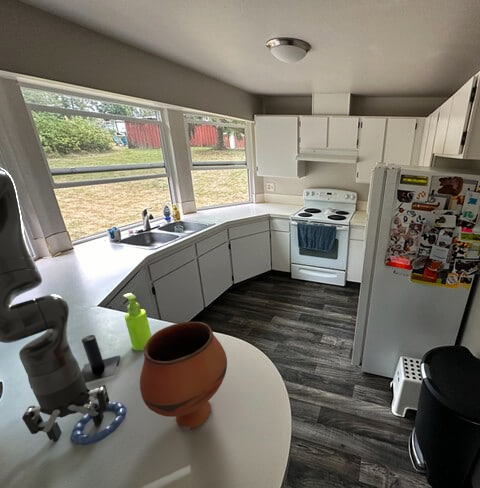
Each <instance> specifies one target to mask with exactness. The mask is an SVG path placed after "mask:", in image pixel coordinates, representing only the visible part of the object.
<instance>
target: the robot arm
mask: <svg viewBox="0 0 480 488" xmlns="http://www.w3.org/2000/svg"><path fill="white" fill-rule="evenodd" d="M42 282H43V278H42V275H41V273H40V271H39V269H38V266H37V265H36V262H35V259H34V258H33V256H32V253H31V250H30V248H29V246H28V242H27V239H26V236H25V232H24V225H23V219H22V214H21V209H20V204H19V198H18V193H17V189H16V185H15V183H14V180H13V178H12V176H11V174H9V172H8V171H7V170H5V169H4V168H2V167H0V343H3V344H4V343H5V344H12V343H16V342H19V341H21V340H24V339H26V338H29V337H32V336H35V335H37V334H41V333H43V332H44V333H43V334H41V335H40V336H38V337H36V338H33V339H32V340H31V341H29V342H27V343H26V344H25V345H24V346H23V347H21V348H20V350H19V353H18V356H19V360H20V362H21V364H22V366H23V369H24V371H25V373H26V375H27V380H28V383H29V387H30V390H31V391H32V392H33V394H34V396H35V399H36V401H37V403H38V406H36V405H30V406H28V407H27V409H26V410H25V412H24V413H23V415H22V417H21V419H22V420H23V422H24V424H25V426H26V427H27V429H28V431H29V432H30V434H31V435H36V434H38V433H39V432H43V433H46V436H47V438H48V440H50V441H52V442H56V441H59V440H60V437H61V435H62V430H61V427H60V424H59V423H58V421H56V420H57V419H58V418H60V419H62V418H64V417H67V416H70V415H74V414H77V413H79V414H81V415H85V414H89V415H92V418H91V419H92V421H93V424H94V427H99V426H101V424H102V423H103V420H104V416H105V415H104V412H106V411H105V410H106V409H107V407H108V403H110V398H109V394H108V391H107V386H106V385H105V384H100V385H99V386H98V388H95V389H90V388H88V387H87V383H85V380H84V378H83V375H82V372H81V371H82V369H81V367H80V365H79V363H78V360H77V358H76V357H75V356H74V354H73V351H72V348H71V345H70V342H69V339H68V325H69V315H70V309H69V308H70V307H69V304H68V302H67V301H66V300H65V299H64V298H63V297H62V296H61V295H58V294H46V295H42V296H39V297H36V298H32V299H29V300H25V301H21V302H18V303H14V304H12V302H13V301H14V300H15V299H16V298H17V297H19V296H20V295H23V294H25V293H27V292H30V291H32V290H34V289H36V288H39V286H40V285H41V284H42ZM92 397H93V398H92ZM96 400H97V402H96ZM102 411H104V412H102ZM41 413H42V414H45V415H48V416H49V418H48V420H44V419H43V417H42V416H41Z"/></svg>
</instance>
